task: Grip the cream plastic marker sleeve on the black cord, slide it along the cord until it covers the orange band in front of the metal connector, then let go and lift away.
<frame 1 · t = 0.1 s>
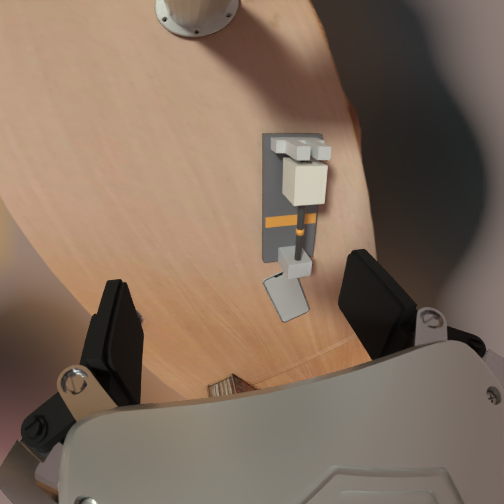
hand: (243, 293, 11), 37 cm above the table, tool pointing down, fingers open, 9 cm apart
smartphone: (287, 295, 63), on the table
book: (242, 393, 81), on the table
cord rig: (289, 198, 50), on the table
marker sleeve: (303, 180, 42), point 6 cm above the table, slide at 0.0 cm
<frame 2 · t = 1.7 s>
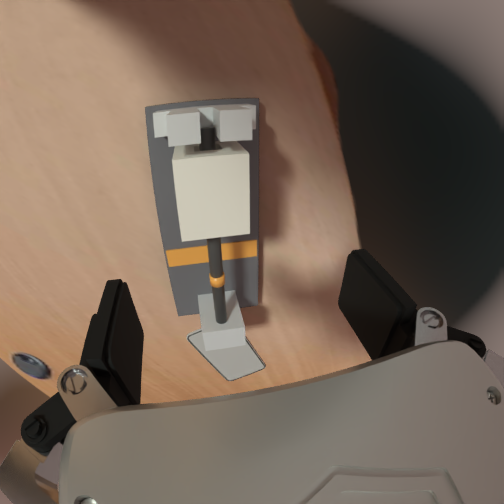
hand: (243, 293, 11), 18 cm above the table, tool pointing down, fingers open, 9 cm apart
smartphone: (229, 350, 42), on the table
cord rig: (208, 216, 29), on the table
marker sleeve: (209, 186, 21), point 6 cm above the table, slide at 0.0 cm
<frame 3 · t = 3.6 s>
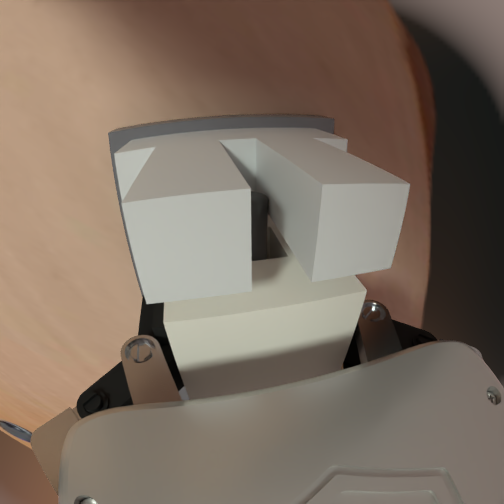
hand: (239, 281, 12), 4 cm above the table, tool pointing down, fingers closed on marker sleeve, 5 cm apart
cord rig: (231, 312, 18), on the table
marker sleeve: (250, 317, 10), point 6 cm above the table, slide at 0.0 cm, touching gripper
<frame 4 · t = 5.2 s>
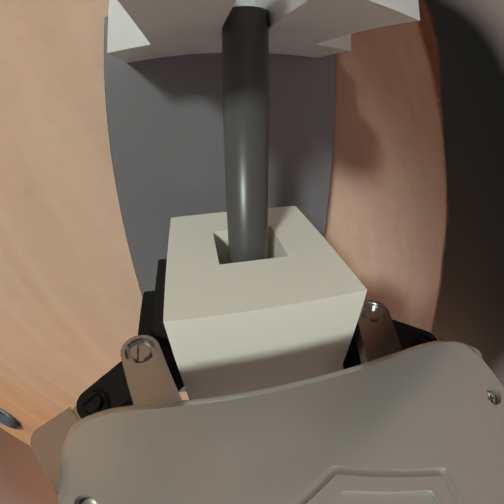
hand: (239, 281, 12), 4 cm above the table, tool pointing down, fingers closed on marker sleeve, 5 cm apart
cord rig: (227, 239, 16), on the table
marker sleeve: (250, 317, 10), point 6 cm above the table, slide at 5.4 cm, touching gripper
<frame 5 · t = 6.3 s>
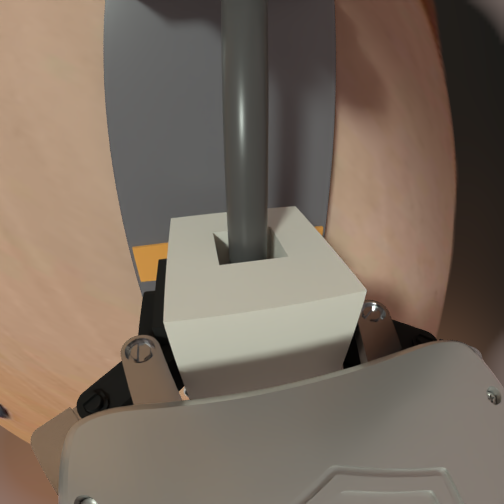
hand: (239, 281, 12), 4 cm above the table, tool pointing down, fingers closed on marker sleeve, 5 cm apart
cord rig: (223, 176, 14), on the table
marker sleeve: (250, 317, 10), point 6 cm above the table, slide at 9.0 cm, touching gripper
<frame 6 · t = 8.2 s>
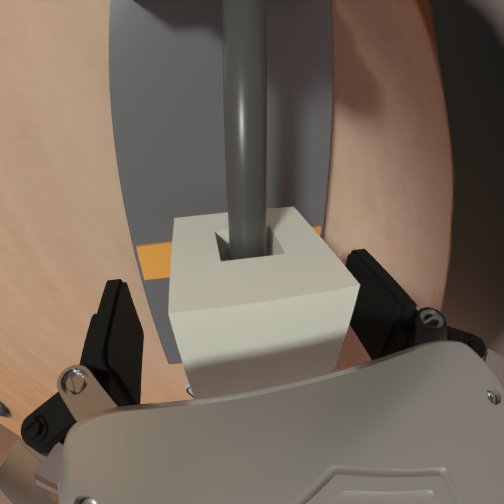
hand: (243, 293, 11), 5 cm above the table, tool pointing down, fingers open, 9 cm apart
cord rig: (225, 178, 14), on the table
marker sleeve: (250, 313, 11), point 6 cm above the table, slide at 9.0 cm
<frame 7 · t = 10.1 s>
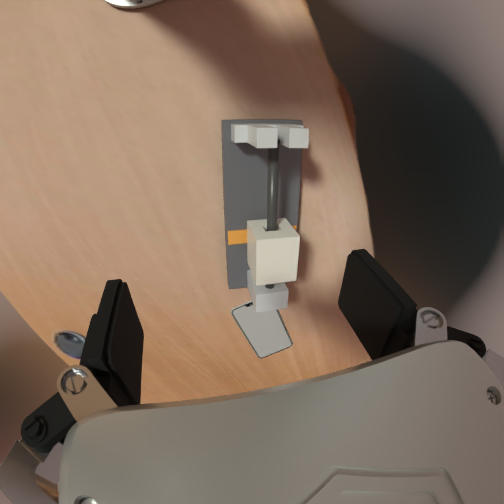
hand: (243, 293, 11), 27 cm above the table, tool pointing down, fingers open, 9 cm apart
smartphone: (263, 327, 51), on the table
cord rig: (260, 206, 39), on the table
marker sleeve: (271, 250, 35), point 6 cm above the table, slide at 9.0 cm
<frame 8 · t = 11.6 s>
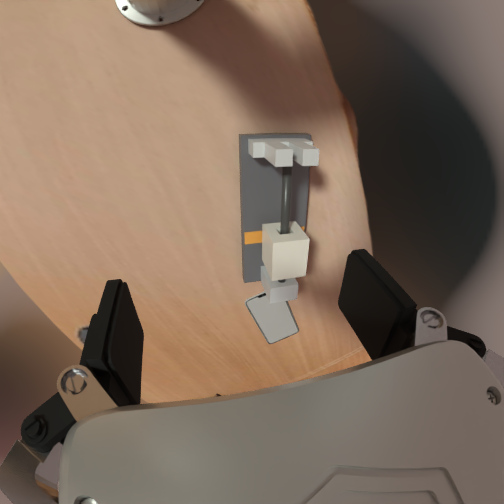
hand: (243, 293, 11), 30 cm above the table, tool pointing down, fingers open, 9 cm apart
smartphone: (273, 315, 56), on the table
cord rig: (272, 210, 44), on the table
marker sleeve: (284, 250, 40), point 6 cm above the table, slide at 9.0 cm
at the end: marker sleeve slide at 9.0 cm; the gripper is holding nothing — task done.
